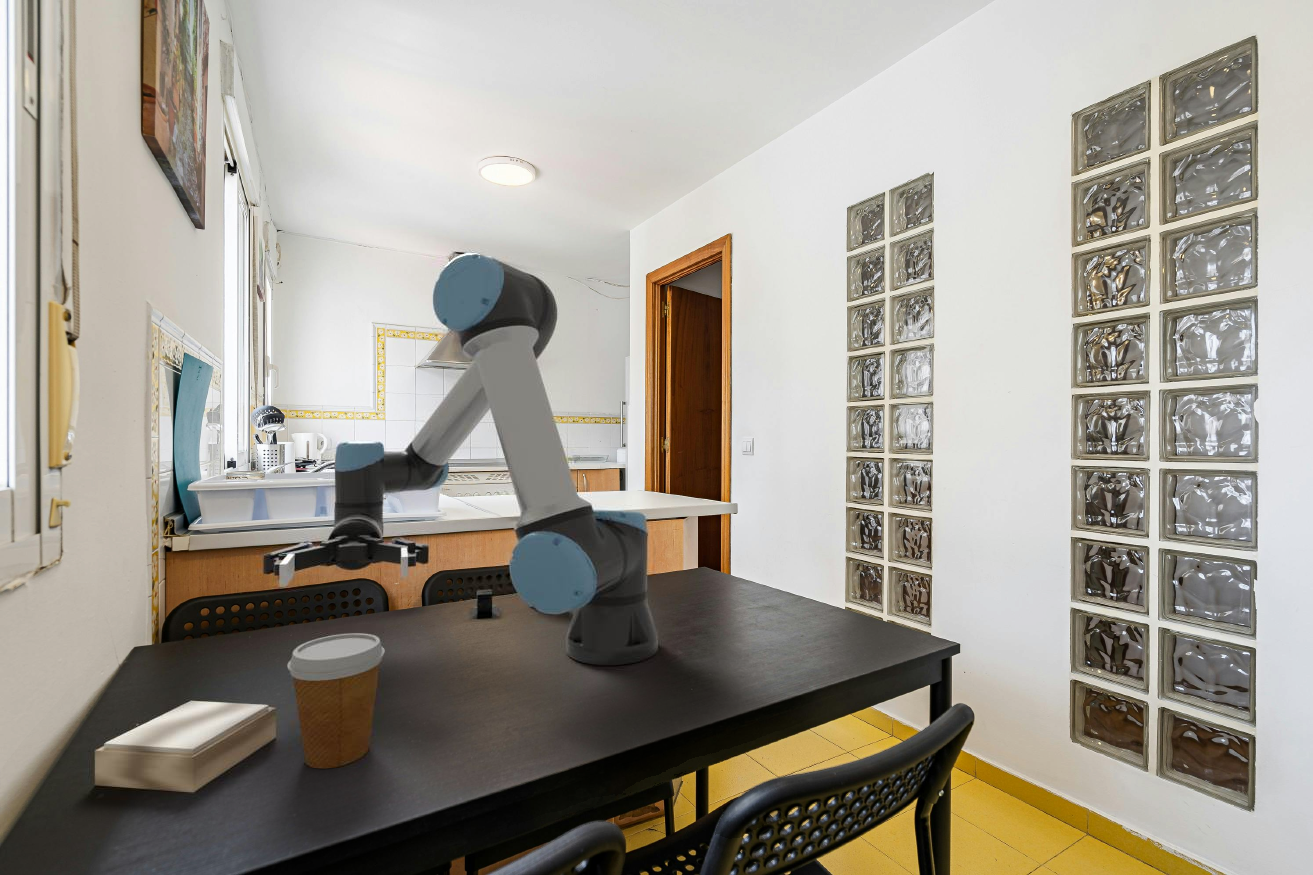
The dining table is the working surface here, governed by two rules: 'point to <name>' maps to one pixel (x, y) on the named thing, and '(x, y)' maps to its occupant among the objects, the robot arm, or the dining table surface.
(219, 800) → the dining table surface
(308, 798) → the dining table surface
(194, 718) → the plinth
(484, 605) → the black block on base
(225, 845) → the dining table surface
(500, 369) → the robot arm
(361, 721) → the disposable coffee cup
